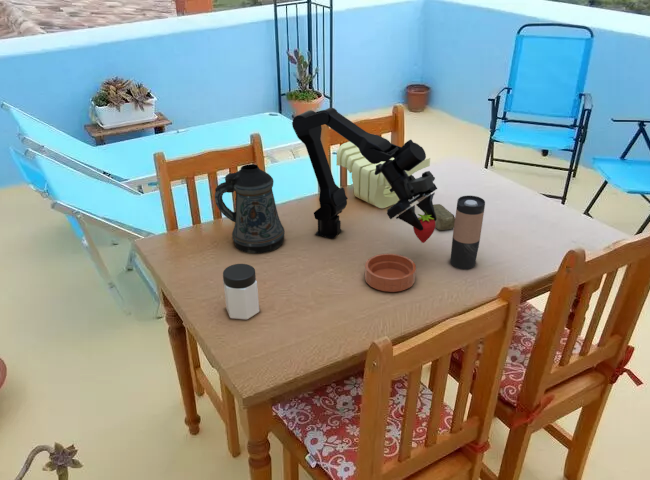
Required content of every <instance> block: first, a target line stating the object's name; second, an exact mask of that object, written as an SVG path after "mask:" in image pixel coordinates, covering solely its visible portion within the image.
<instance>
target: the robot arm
mask: <svg viewBox="0 0 650 480" xmlns="http://www.w3.org/2000/svg"><path fill="white" fill-rule="evenodd" d="M291 125H292V128H293V131H294V133H295V135H296V137H297V138H298V140H300V142H301V143H302V144H304V146H305V148H306V152H307V154H308V157H309V161H310V164H311V167H312V170H313V172H314V175H315V178H316V181H317V184H318V187H319V195H318V201H319V206H320V207H319V208H317V209H316V210H315V211H314V212H313V217H314V219H315V220H317V231H316V232H315V236H318V237H322V238H328V239H333V240H334V239H335V238H336V237H337V236H338V235H339V234H340V233H341V232H342V227H341V226H342V225H341V220H340V214H342V212H343V210H345V208H347V207H346V206H347V205H348V197H347V195H346V191H345V188H344V187H339V186H338V185H337V184H336V182H335V179H334V176H333V173H332V169H331V167H330V163H329V160H328V158H327V155H326V151H325V148H324V146H323V143H322V142H323V141H322V129H323V128H322V126H324V125H326V126H327V127H328V128H330V129H331V130H333V131H334V132H336V133H337V134H338V135H339V136H341V137H342V138H344V139H346V140H347V142H351V143H353V144H354V145H356V146H357V147H358V148H359V150H360V152H361V154H362V155H363V156H364V157H365V158H366V159H367V160H368V161H369V162H370V163H372V164H377V163H380V162H381V161H384V163H383V164H378V165H376V170H375V175H378V174H380V173H381V172H382V174H383V175H384V177H385V178H386V180H387V181H388V183H389V184H390V186H391V187H392V188H391V187H390V188H391V189H390V192H391V193H392V192H393V191H394V192H395V193H396V195H397V197H398V198H399V201H398V202H397V203H396V204H393V205H391V206H389V208H387V209H386V215H387V216H388V218H389V219H390V220H392V219H394V218H395V219H396V220H401V221H402V222H405V223H406V224H408V225H410V226H412V228H413V227H415V228H417V229H418V230H420V231H422V230H423V229H424V228H423V226H422V224H421V222H420V221H419V219H418V218H419V217H418V216H417V215H418V214H416V207H417V208H418V209H420V210H421V211H422V213H425V214H426V213H427V214H426V215H431V216H430V217H431V218H434V221H436V220H437V218H436V215H435V211H434V207H433V205H434V203H433V199H434V196H435V195H436V193H435V191H436V190H438V187H437V186H436V184H435V183H434V182H435V180H436V177H435V176H434V174H432V171H430V170H427V171H424V172H422V173H421V176H419V177H415V176H414V174H412V175H410V176H408V174H407V173H406V171H410V170H412V169H413V168H414V167H416V166H417V165H418V164H420V163H421V162H422V161H424V160H426V159H427V154H426V151H425V149H424V148H423V146H421V145H420V144H418V143H416V142H414V141H413V140H412V139H409V140H407V141H405V143H404V144H402V146H399V145H397V144H394V143H391V141H390V140H389V139H387V138H385V137H383V136H380V135H378V134H374V133H370V132H367V131H366V130H364V129H363V128H362V127H360V126H359V125H357V124H355V122H353V121H352V120H350V119H349V118H347V117H345V116H344V115H342V114H341V113H340V112H338V110H337V109H336V108H334V107H327V108H326V109H322V110H317V111H314V110H312V109H311V110H307V111H305V112H302V113H300V114H298V115H296V116H294V118H293V120H292V122H291ZM391 158H394V160H389V159H391ZM405 170H406V171H405ZM415 202H418V203H416V205H415V204H414V205H412V204H413V203H415Z"/></svg>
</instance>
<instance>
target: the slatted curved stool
mask: <svg viewBox="0 0 650 480" xmlns="http://www.w3.org/2000/svg"><path fill="white" fill-rule="evenodd" d="M389 160H394V158H391V159H389ZM383 163H384V161H381V162H380V163H377V164H372V163H370V162H369V161H368V160H367V159H366V158H365V157H364V156H363V155H362V154H361V152H360V150H359V148H358V147H357V146H356V145H354V144H353V143H351V142H350V141H347V142H344V143H342V144H341V145H339V147H338V149H337V151H336V166H339V167H342V168H346V170H347V171H348V173H350V174H351V181H352V187H353V195H354V197H356V198H358V199H360V200H362V201H364V202H366V203H367V204H370V205H372V206H374V207H376V208H377V209H378V208H379V209H386V208H388V207H392V206H393V205H395V204H396V203H397V202H398V201H399V198H398V197H397V195H396V193H395V192H394V191H393V192H392V193H391V192H390V189H391V188H392V187H391V186H390V184H389V183H388V181H387V180H386V178H385V177H384V175H383V174H382V172H381V173H380V174H378V175H375V170H376V165H378V164H383ZM430 165H431V157H429V158H426V159H425V160H424V161H422V162H421V163H420V164H418V165H417V166H416V167H414V168H413V169H412V170H410V171H406V170H405V171H406V173H407V174H408V176H410V175H414V174H415V173H417V172H419V171H421V170H423V169H426V168H428V167H430Z"/></svg>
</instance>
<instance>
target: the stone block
mask: <svg viewBox="0 0 650 480" xmlns="http://www.w3.org/2000/svg"><path fill="white" fill-rule="evenodd" d="M433 207H434V211H435V215H436V218H437V220H436V221H435V225H436V227H435V229H437V230H439V231H447V230H449V231H450V230H452V229H454V223H455V214H454V213H452V212H451V211H450V210H448V209H447V208H446V207H445V206H444V205H442V204H441V203H435V204H433ZM423 213H424V212H423ZM423 215H425V216H427V215H426V214H425V213H424V214H423Z"/></svg>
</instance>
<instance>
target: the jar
mask: <svg viewBox="0 0 650 480" xmlns="http://www.w3.org/2000/svg"><path fill="white" fill-rule="evenodd" d="M256 275H257V274H256V270H255V268H254V266H252V265H250V264H247V263H235V264H231V265H229V266H227V267H225V268H224V270H223V272H222V283H223V290H224V291H223V292H224V301H225V309H226V311H227V314H228V316H229V318H230V319H234V320H235V319H236V320H249V319H250V318H252V317H253V316H255V315H257V314H258V313H260V301H259V300H260V299H259V290H258V287H259V286H258V281H257V277H256Z"/></svg>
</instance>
